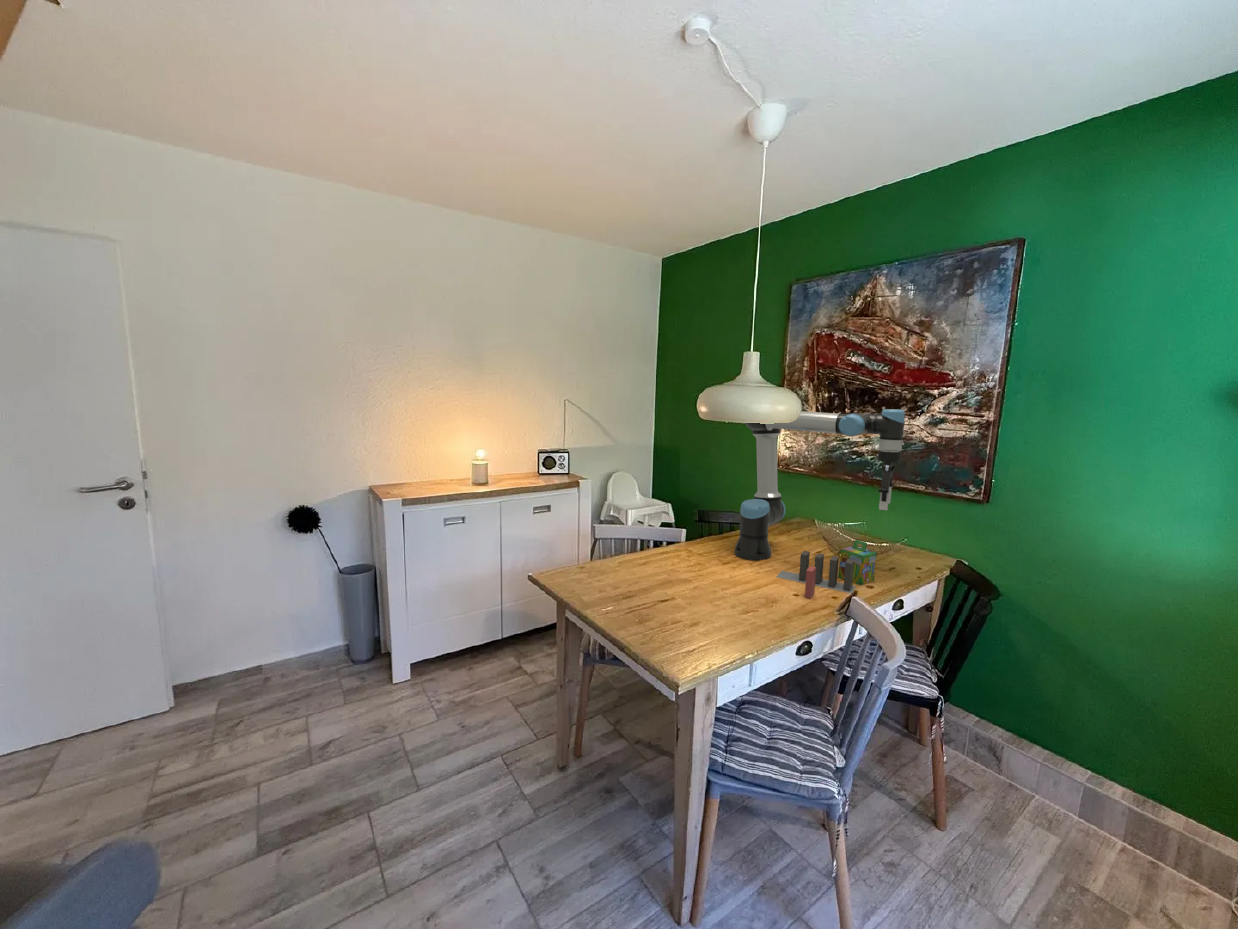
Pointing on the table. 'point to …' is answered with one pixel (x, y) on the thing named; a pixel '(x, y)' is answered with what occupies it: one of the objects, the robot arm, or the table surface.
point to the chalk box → (859, 563)
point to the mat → (823, 584)
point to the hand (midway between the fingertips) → (884, 506)
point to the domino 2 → (810, 582)
